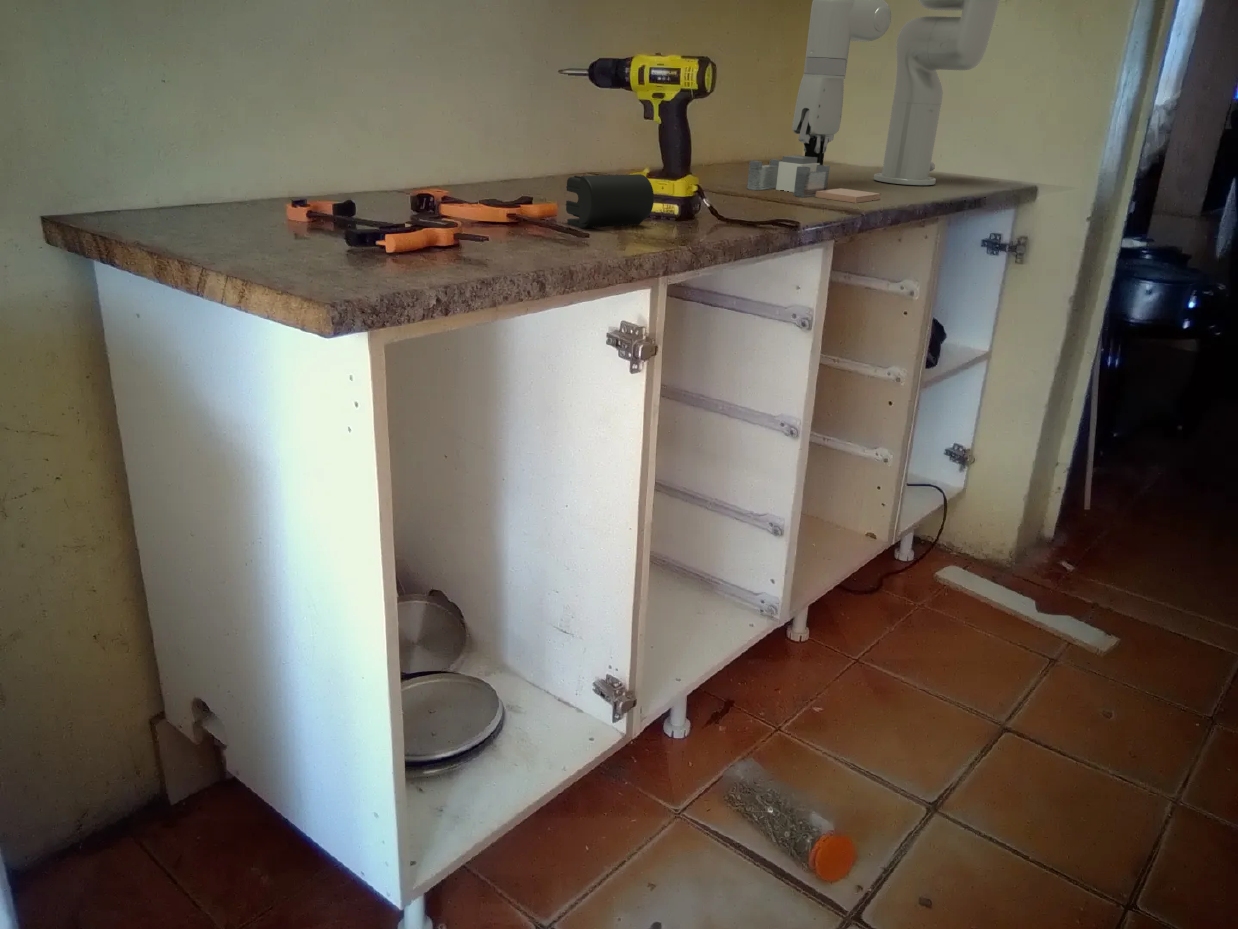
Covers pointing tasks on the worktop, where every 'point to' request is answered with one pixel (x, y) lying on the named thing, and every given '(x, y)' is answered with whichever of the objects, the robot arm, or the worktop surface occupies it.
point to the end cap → (609, 200)
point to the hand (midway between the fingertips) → (811, 174)
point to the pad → (848, 195)
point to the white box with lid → (792, 170)
